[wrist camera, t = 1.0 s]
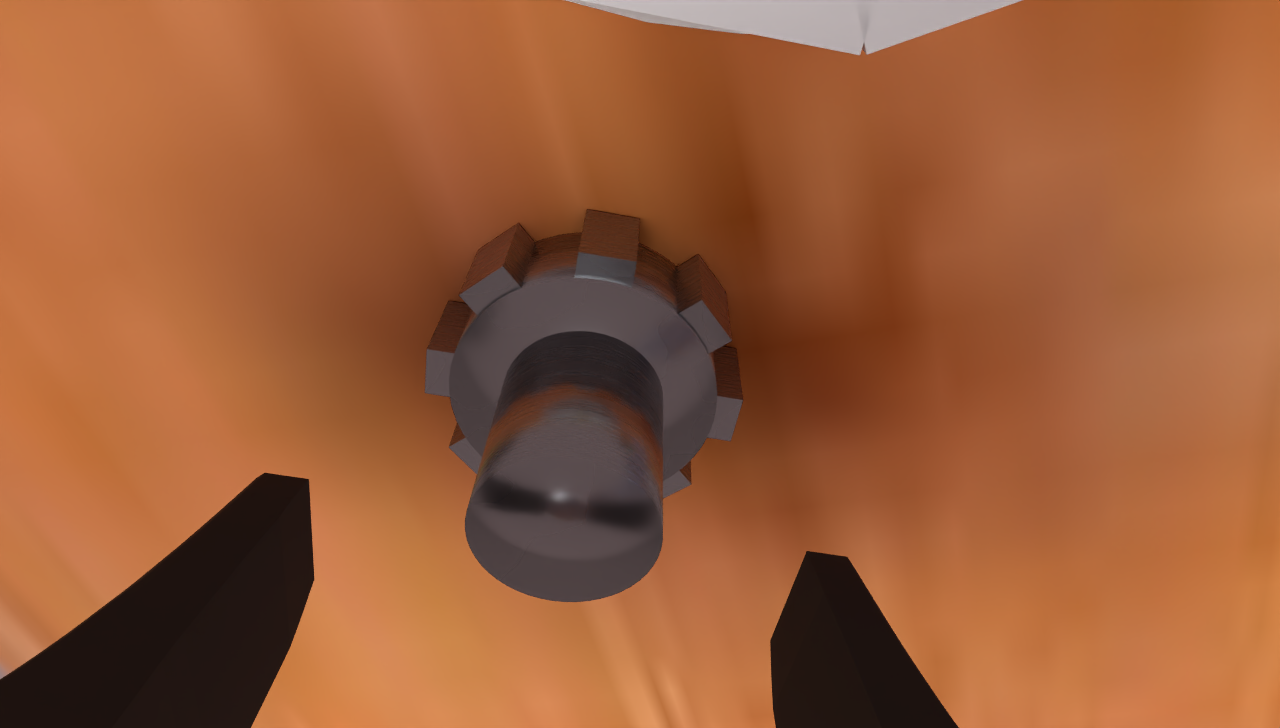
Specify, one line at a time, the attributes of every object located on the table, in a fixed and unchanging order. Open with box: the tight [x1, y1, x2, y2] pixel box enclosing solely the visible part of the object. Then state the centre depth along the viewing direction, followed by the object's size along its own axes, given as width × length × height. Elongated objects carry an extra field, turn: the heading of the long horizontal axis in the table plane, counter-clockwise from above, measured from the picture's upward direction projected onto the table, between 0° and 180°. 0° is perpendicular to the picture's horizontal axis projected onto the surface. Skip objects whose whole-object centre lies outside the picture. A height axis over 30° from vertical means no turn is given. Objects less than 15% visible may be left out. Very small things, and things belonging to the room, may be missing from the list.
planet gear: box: [425, 210, 743, 602], centre depth 15 cm, size 6×6×6 cm
